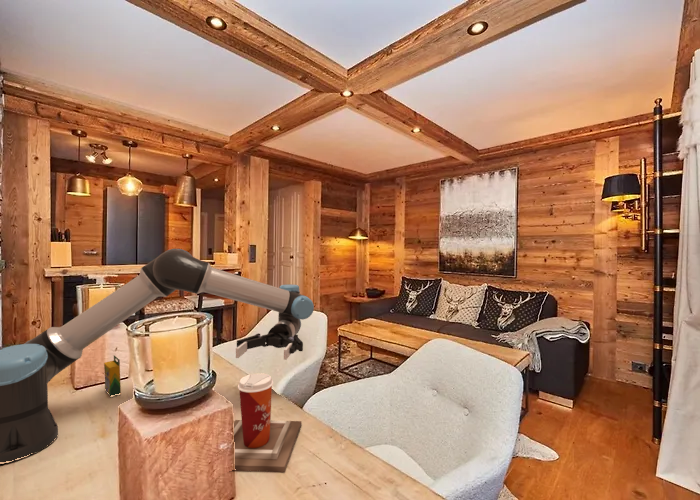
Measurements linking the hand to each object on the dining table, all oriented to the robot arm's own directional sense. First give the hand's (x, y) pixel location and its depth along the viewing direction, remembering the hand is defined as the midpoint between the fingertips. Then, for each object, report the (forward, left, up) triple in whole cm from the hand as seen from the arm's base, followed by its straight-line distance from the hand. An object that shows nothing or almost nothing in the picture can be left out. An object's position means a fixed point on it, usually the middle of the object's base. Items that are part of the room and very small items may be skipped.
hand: (260, 354), depth 92 cm
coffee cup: (+3, -12, -17) cm, 21 cm away
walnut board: (+3, -12, -18) cm, 22 cm away
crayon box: (-54, +14, -18) cm, 59 cm away
